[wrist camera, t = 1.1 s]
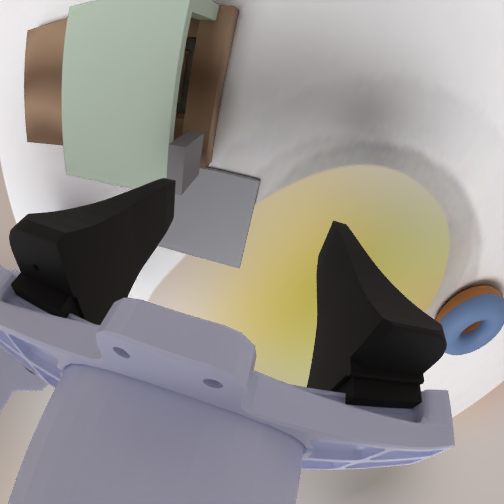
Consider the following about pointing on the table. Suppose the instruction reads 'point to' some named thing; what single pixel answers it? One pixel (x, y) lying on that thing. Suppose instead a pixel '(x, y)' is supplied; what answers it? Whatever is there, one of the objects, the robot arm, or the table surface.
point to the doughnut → (471, 319)
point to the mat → (213, 217)
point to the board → (195, 118)
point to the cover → (128, 91)
